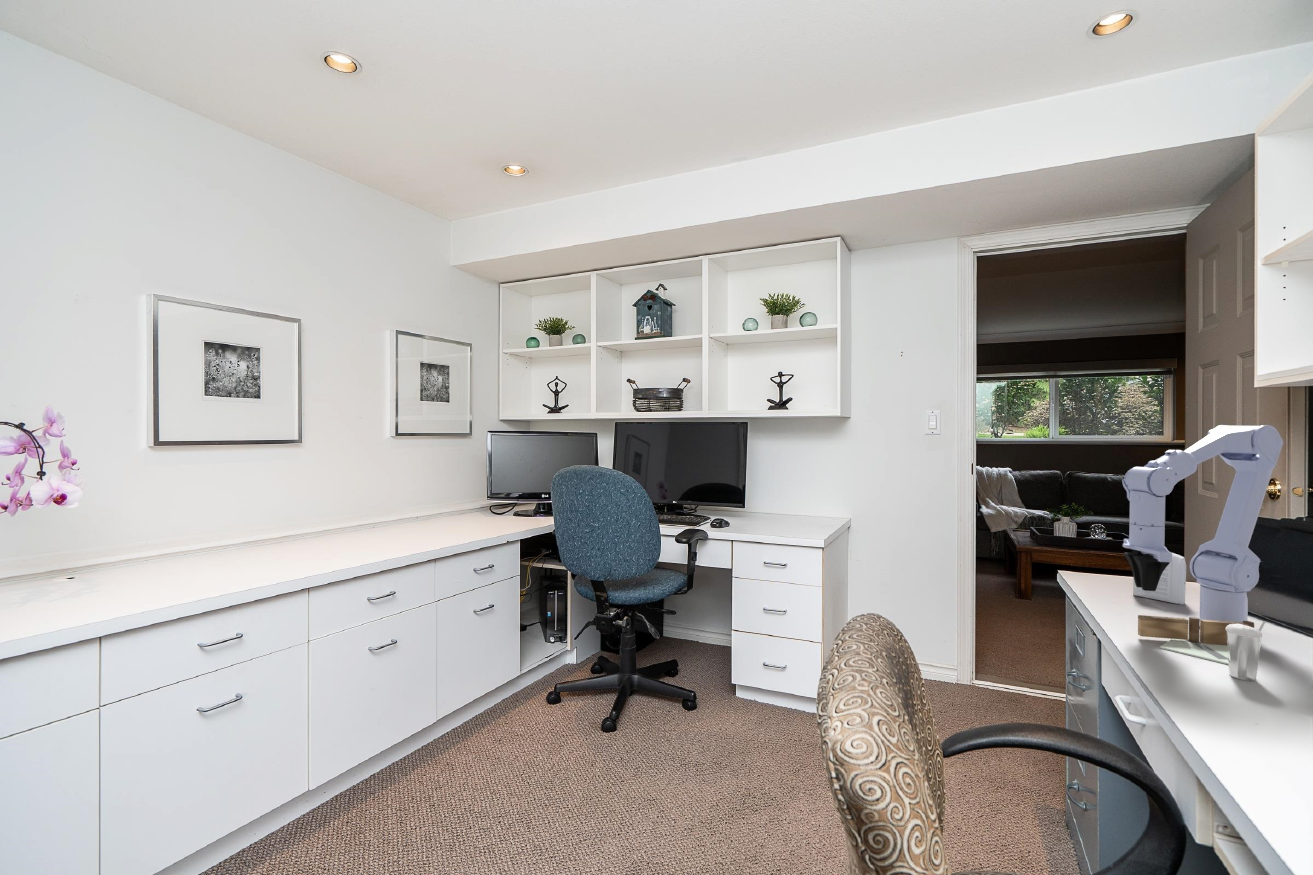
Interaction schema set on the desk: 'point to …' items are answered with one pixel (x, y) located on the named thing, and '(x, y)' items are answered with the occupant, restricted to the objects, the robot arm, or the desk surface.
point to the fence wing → (1163, 627)
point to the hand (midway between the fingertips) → (1145, 588)
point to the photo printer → (1168, 583)
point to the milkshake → (1243, 650)
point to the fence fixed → (1210, 630)
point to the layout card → (1199, 649)
